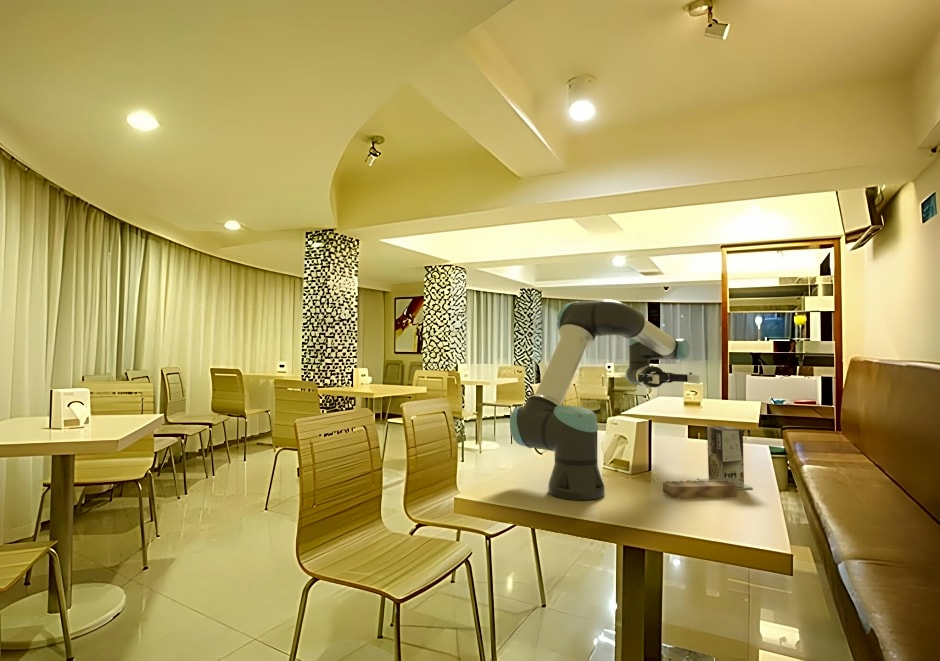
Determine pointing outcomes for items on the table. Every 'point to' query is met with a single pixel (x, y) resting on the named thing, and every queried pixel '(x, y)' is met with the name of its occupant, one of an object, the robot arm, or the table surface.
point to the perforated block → (699, 489)
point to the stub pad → (737, 487)
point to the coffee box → (725, 454)
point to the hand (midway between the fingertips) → (678, 379)
